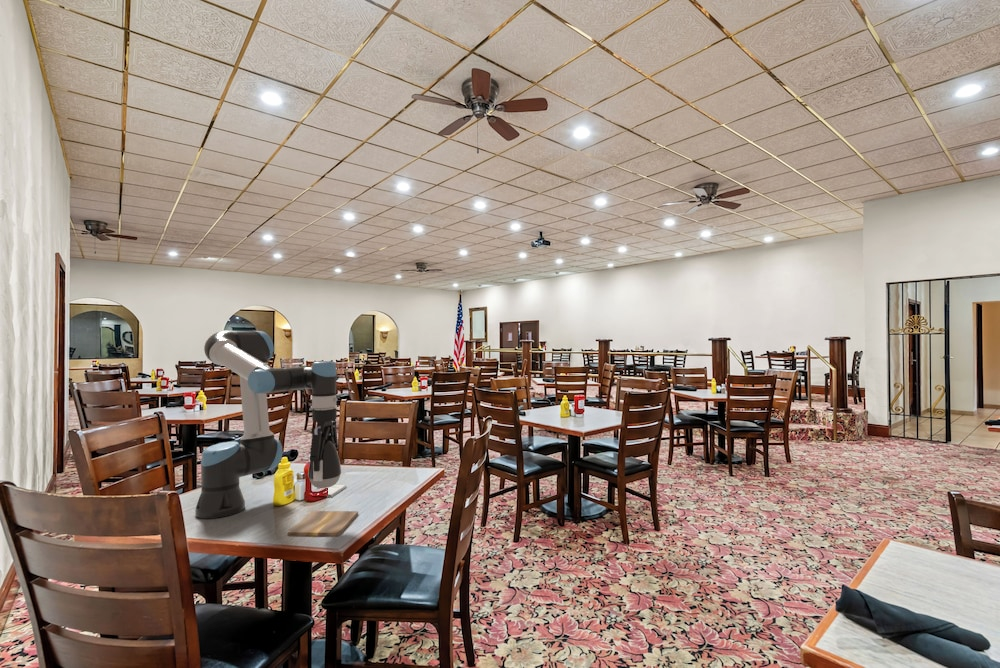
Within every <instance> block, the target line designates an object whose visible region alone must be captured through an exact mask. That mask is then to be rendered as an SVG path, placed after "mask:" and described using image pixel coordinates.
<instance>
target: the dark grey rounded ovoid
mask: <svg viewBox="0 0 1000 668" xmlns="http://www.w3.org/2000/svg"><path fill="white" fill-rule="evenodd" d="M320 448H321V445H320ZM321 460H323V481H313V461H310V460H309V465H308V471H307V472H308V473H307V477H308V478H309V479H308V480H309V481H310V483H311V485H312V486H313V487H314V488H318V489H321V488H328V487H331V486H333V485H335V484H336V485H337V483H338V481H340V477H341V475H342V468H341V467H342V466H341V461H340V457H339V453H338V451H337V450H336V448H335V446H334V444H333V443H332V442H331V441H330V440H325V443H324V448H323V453H322V457H321Z"/></svg>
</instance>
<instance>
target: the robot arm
mask: <svg viewBox="0 0 1000 668" xmlns="http://www.w3.org/2000/svg"><path fill="white" fill-rule="evenodd" d="M274 348H275V347H274V342H273V340H272V338H271V336H270V335H269V334H268V333H267V332H265V331H261V330H254V329H253V330H220V331H217V332H215V333H213V334H212V335H210V336H209V337H208V339H207V340H206V341H205V343H204V348H203V349H204V350H203V351H204V354H205V356H206V358H207V359H208V360H209V361H210V362H212V363H213V364H215V365H217V366H224V367H225V368H227V369H229V370H231V372H233V373H235V374H236V375H238V376H239V384H240V395H241V396H240V398H241V408H242V409H241V411H242V422H243V435H242V436H241V437H240V439H239V441H240V443H239V442H238V441H233V440H231V441H223V442H218V443H216V444H212V445H210V446H208V447H206V448H204V450H203V451H202V453H201V459H200V468H201V469H200V474H201V480H200V481H201V482H200V485H201V488H200V489H201V491H200V494H199V497H198V500H197V503H196V506H195V510H194V511H195V517H196V516H197V518H198V517H199V518H200V519H205V518H210V519H218V518H217V517H220V518H223V516H225V517H229V516H233V515H236V514H238V513H240V512H241V511H243V510H244V509H245V507H246V500H245V498H244V496H243V492H242V490H241V488H240V478H241V477H246V476H249V475H250V476H251V475H253V474H254V475H255V474H257V473H261V472H262V473H266V472H267V471H270V470H273V469H275V468H277V467H278V465H279V464H280V462H281V460H282V457H283V444H282V443H281V441H280V439H278V438H277V437H275V433H274V432H272V430H270V423H269V411H268V410H269V409H268V397H267V394H270V393H271V394H272V393H278V392H287V391H300V390H311V391H312V393H311V408H312V411H311V413H312V414H311V416H312V417H311V418H312V419H311V420H312V421H313V422H316V427H313V428H312V429H311V444H310V453H309V462H310V461H313V481H323V460H321V457H322V453H323V448H324V443H325V440H330V441H331V442H332V443H333V444H334V446H335V448H336V450H337V452H339V441H338V433H337V421H335V420H337V418H338V417H337V416H338V415H337V408H336V407H337V401H338V398H337V373H338V372H337V364H336V362H335V361H333V360H332V361H330V360H329V361H325V360H324V361H323V360H322V361H314V362H312V364H311V366H305V365H303V366H301V365H300V366H295V367H282V368H281V367H279V368H275V367H272V366H270V365H269V360H271V358H273V356H274V354H273V353H274V352H275V349H274ZM320 445H321V448H320ZM232 514H233V515H232ZM228 515H229V516H228ZM199 518H198V519H199Z"/></svg>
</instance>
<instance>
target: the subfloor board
mask: <svg viewBox="0 0 1000 668" xmlns="http://www.w3.org/2000/svg"><path fill="white" fill-rule="evenodd" d="M357 516H359V511H353V510H352V511H349V510H346V511H345V510H343V511H342V510H341V511H339V510H335V511H334V510H312V511H310V513H309V514H307V515H306V516H305V517H303V519H301V520H300V521H299V522H298V523H296V524H295V525H294V526H293V527H292V528H291V529H290V530H288V531H287V536H295V537H297V536H300V537H301V536H302V535H303V536H305V537H307V535H308V536H309V537H310V536H311V537H312V536H313V537H315V536H317V537H319V536H320V537H340V535H341V534H342V532H344V531H345V529H346V528H347V527H348V526H349V525H350V524H351V523H352V521H354V519H355V518H356V517H357Z"/></svg>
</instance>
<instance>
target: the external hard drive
mask: <svg viewBox="0 0 1000 668" xmlns="http://www.w3.org/2000/svg"><path fill="white" fill-rule="evenodd" d="M346 488H347V485H346V484H337V483H336V484H335V485H333V486H331V487H328V497H327V498H333V497H334V496H335V495H337V494H338V493H340V492H341V490H342V491H343V490H344V489H346Z"/></svg>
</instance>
